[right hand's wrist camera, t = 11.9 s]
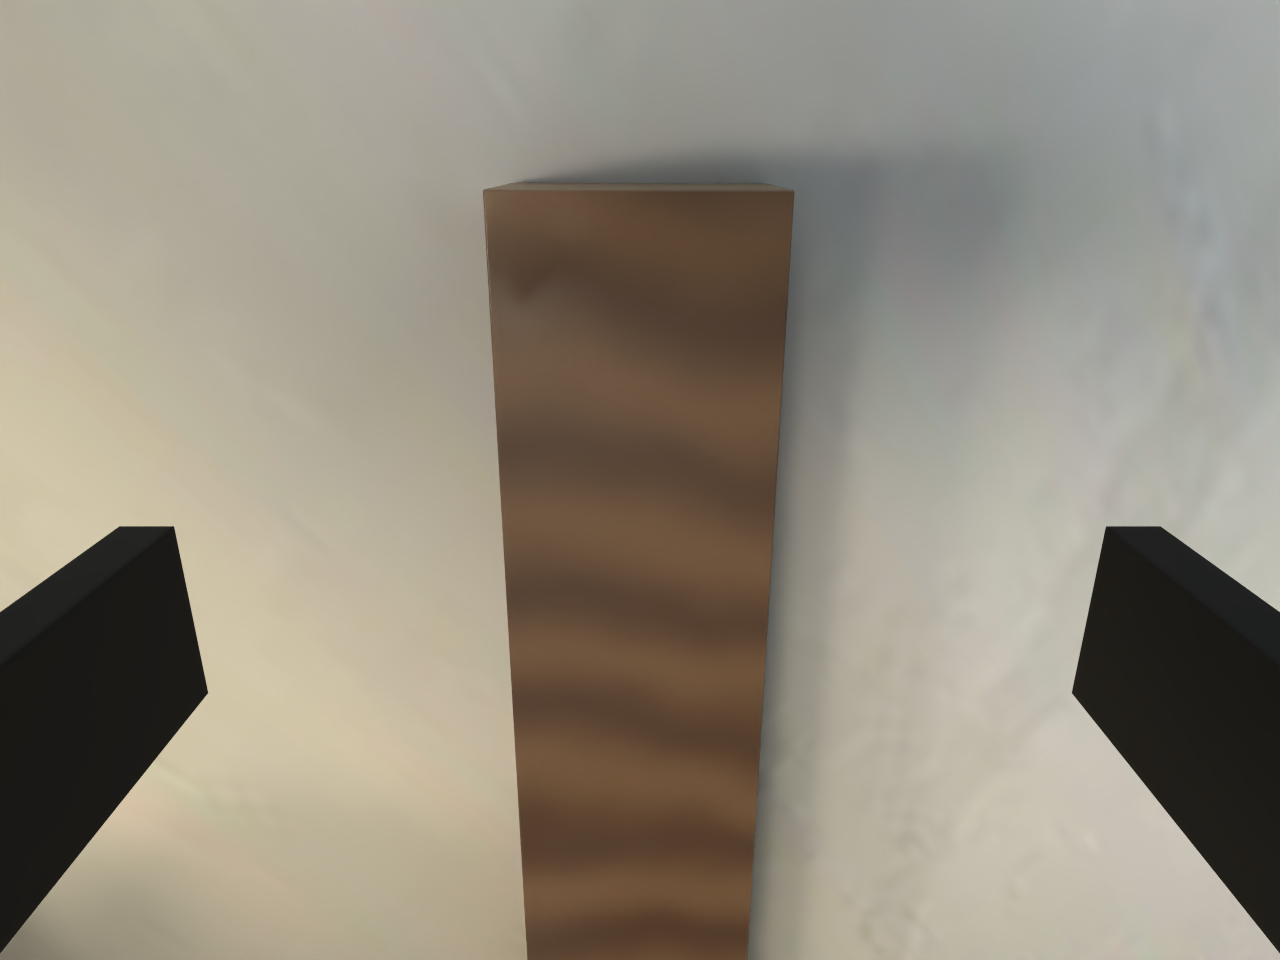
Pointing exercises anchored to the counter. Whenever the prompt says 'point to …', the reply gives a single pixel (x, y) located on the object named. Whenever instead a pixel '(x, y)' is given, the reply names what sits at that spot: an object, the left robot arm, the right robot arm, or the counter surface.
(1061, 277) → the counter surface
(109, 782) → the right robot arm
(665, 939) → the wide beam
